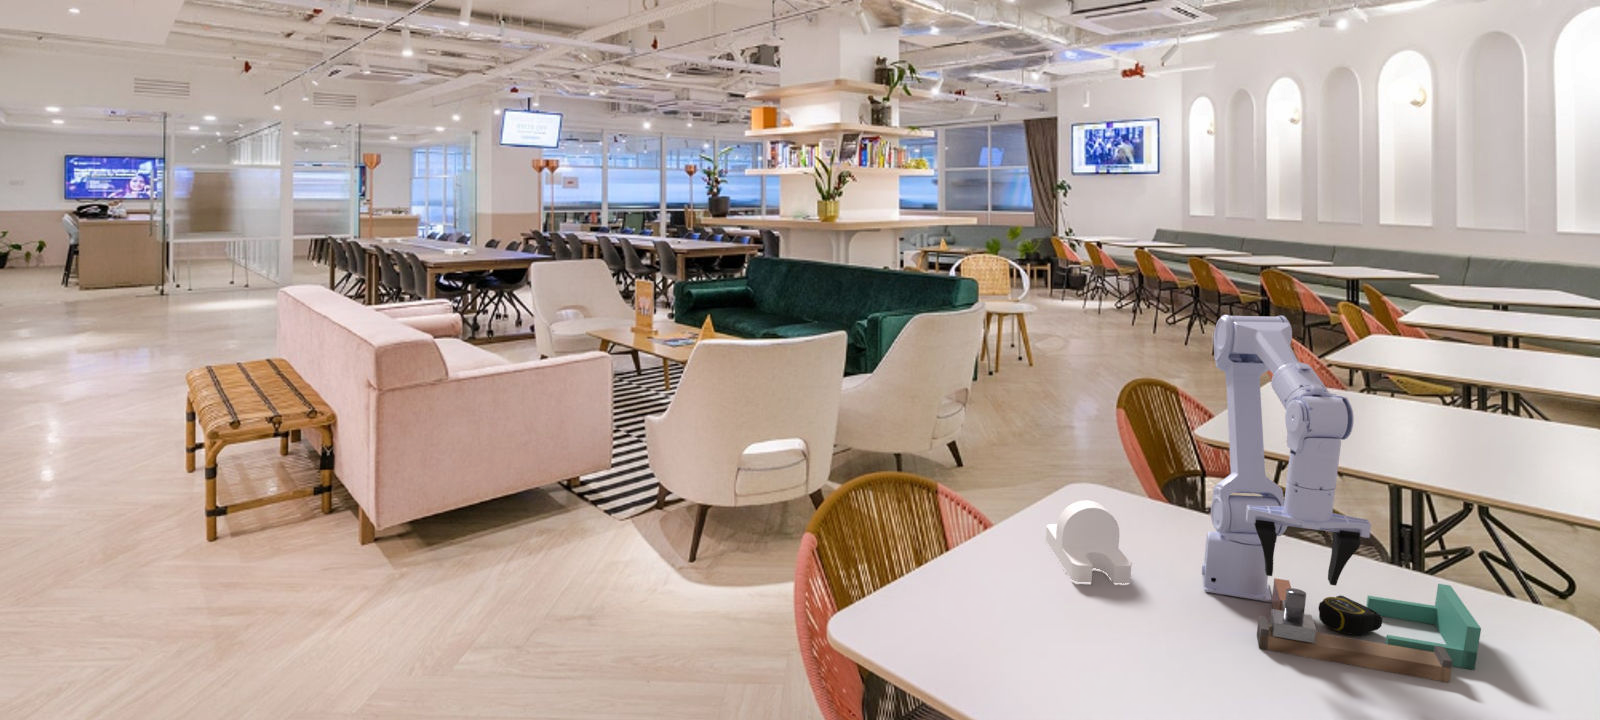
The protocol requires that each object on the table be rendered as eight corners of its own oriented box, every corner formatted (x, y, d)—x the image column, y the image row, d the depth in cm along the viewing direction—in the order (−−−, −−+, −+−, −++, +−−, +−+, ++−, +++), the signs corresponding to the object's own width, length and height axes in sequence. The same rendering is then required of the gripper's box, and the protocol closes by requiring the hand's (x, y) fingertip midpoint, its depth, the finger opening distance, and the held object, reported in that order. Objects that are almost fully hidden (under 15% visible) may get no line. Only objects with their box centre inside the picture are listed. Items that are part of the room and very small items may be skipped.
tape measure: (1383, 636, 125) (1386, 612, 124) (1347, 643, 123) (1350, 618, 122) (1341, 614, 131) (1344, 591, 131) (1306, 621, 129) (1309, 597, 128)
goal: (1386, 654, 119) (1391, 614, 118) (1365, 610, 132) (1370, 573, 131) (1474, 670, 116) (1481, 628, 114) (1444, 623, 128) (1450, 585, 127)
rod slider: (1271, 648, 120) (1277, 595, 119) (1260, 599, 135) (1266, 551, 133) (1313, 656, 118) (1319, 602, 117) (1297, 605, 133) (1303, 557, 131)
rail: (1259, 648, 121) (1261, 628, 120) (1256, 635, 125) (1258, 615, 124) (1449, 682, 113) (1452, 661, 112) (1440, 667, 116) (1443, 646, 116)
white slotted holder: (1096, 543, 158) (1100, 486, 156) (1132, 586, 141) (1137, 523, 139) (1043, 542, 159) (1047, 486, 157) (1072, 586, 141) (1076, 523, 139)
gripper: (1253, 485, 116) (1243, 580, 118) (1380, 499, 111) (1367, 599, 113) (1248, 470, 122) (1239, 560, 125) (1368, 483, 117) (1356, 577, 119)
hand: (1299, 577), depth 119 cm, fingers open, 7 cm apart
